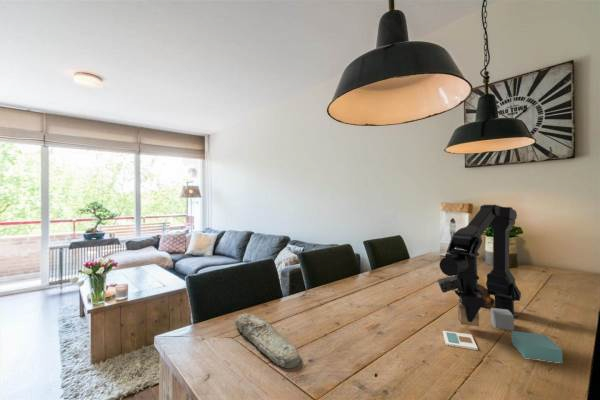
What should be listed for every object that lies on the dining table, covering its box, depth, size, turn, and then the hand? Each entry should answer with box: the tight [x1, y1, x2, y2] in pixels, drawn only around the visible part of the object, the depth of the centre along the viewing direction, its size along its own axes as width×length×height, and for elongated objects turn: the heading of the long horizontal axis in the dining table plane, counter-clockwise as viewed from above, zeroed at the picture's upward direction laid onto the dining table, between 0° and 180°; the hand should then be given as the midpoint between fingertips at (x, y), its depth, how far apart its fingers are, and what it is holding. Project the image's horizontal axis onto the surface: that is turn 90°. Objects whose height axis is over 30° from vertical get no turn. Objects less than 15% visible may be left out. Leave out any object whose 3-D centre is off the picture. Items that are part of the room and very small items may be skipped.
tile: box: [442, 330, 479, 351], centre depth 81 cm, size 8×8×1 cm
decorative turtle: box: [475, 283, 495, 306], centre depth 110 cm, size 10×15×8 cm, turn 22°
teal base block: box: [511, 330, 563, 364], centre depth 74 cm, size 8×8×4 cm
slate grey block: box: [490, 307, 515, 331], centre depth 89 cm, size 5×5×5 cm
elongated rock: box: [234, 313, 301, 369], centre depth 84 cm, size 35×5×10 cm
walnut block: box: [457, 302, 480, 328], centre depth 87 cm, size 5×5×5 cm
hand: (468, 318), depth 87 cm, fingers closed on walnut block, 5 cm apart
